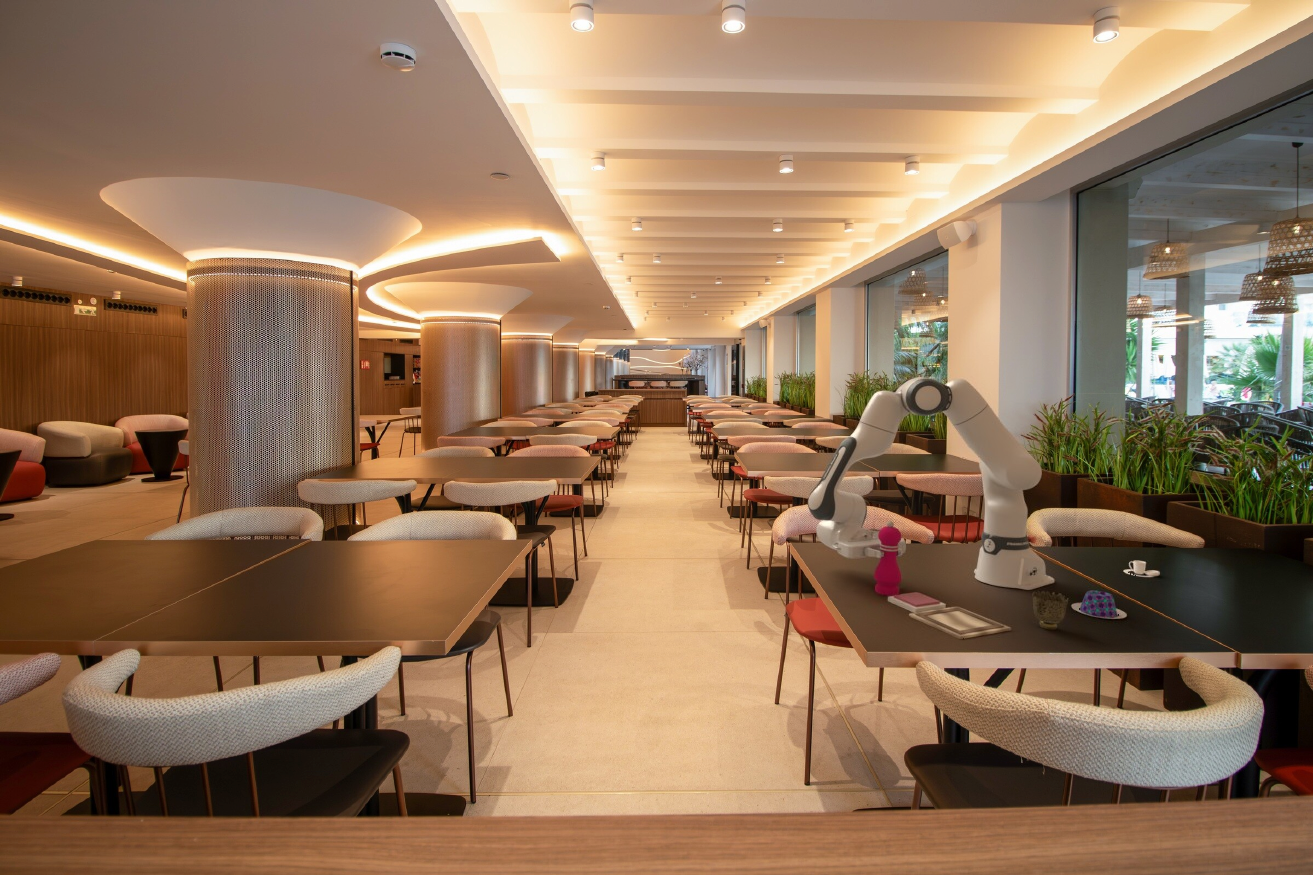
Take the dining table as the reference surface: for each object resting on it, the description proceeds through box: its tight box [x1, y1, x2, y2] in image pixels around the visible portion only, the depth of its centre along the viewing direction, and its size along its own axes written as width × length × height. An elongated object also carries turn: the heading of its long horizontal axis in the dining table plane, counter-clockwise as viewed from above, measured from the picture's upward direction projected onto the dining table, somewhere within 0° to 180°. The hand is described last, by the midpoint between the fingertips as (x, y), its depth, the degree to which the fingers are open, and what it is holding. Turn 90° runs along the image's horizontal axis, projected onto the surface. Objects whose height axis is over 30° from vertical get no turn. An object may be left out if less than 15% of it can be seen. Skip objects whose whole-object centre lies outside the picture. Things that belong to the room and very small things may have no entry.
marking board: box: [908, 605, 1012, 640], centre depth 167 cm, size 16×16×1 cm
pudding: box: [1071, 590, 1128, 620], centre depth 176 cm, size 12×12×5 cm
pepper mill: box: [873, 520, 903, 597], centre depth 189 cm, size 7×7×20 cm
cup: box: [1031, 590, 1069, 631], centre depth 164 cm, size 8×7×8 cm
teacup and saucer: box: [1123, 560, 1161, 578], centre depth 213 cm, size 9×8×4 cm
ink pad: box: [887, 591, 947, 613], centre depth 179 cm, size 10×10×2 cm
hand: (891, 554), depth 188 cm, fingers closed on pepper mill, 5 cm apart
